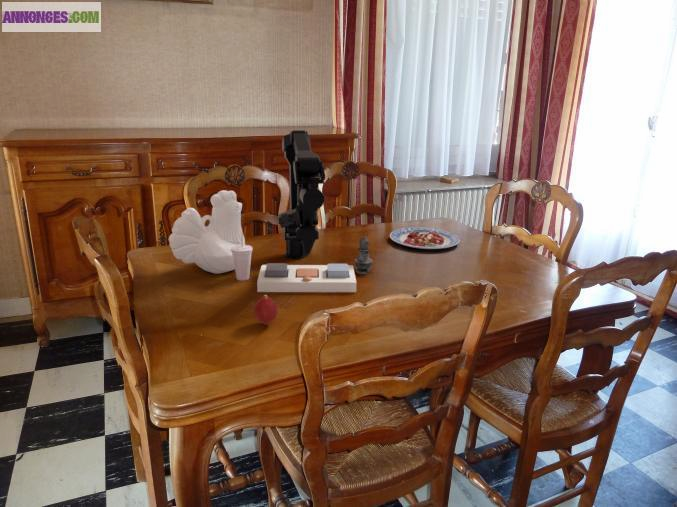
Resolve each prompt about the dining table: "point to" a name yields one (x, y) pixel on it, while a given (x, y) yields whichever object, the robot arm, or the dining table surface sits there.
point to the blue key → (337, 271)
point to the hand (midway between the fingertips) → (307, 254)
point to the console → (306, 281)
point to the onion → (265, 310)
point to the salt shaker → (363, 257)
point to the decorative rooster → (209, 234)
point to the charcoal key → (276, 270)
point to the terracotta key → (307, 272)
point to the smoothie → (242, 260)
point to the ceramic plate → (424, 238)
